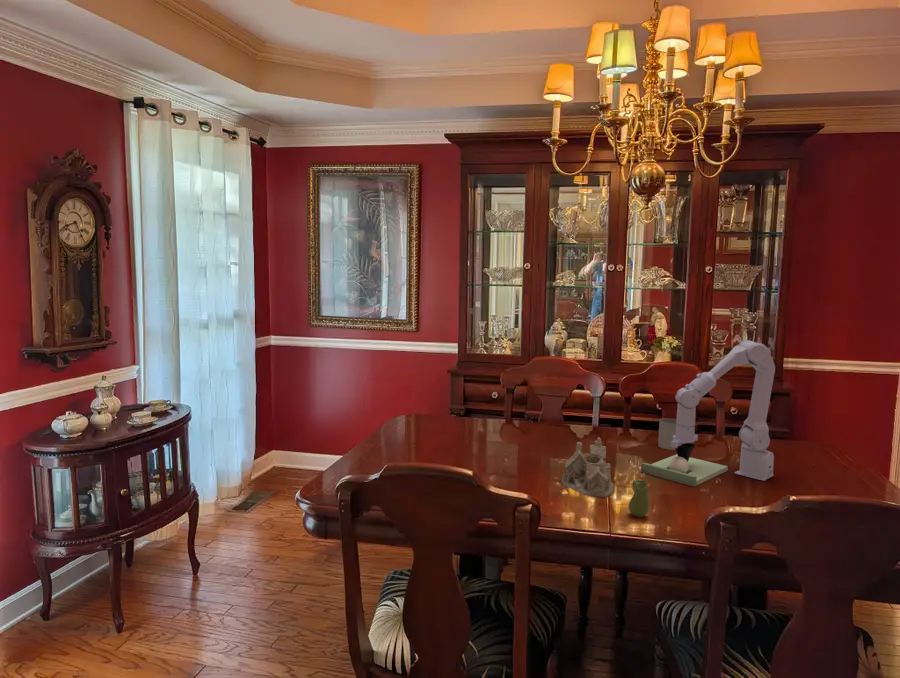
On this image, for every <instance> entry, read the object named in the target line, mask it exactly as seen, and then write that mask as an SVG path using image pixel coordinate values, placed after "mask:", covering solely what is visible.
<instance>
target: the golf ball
mask: <svg viewBox="0 0 900 678" xmlns="http://www.w3.org/2000/svg"><path fill="white" fill-rule="evenodd" d="M669 467H670V469H671V470H674V471H678V472H682V473H686V472H687V471H688V469H689V464H688V462H687V460H686V459H685V458H683V457H680V456H677V457H674V458H672V459H671V461H670V463H669Z"/></svg>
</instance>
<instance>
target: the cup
mask: <svg viewBox="0 0 900 678" xmlns="http://www.w3.org/2000/svg"><path fill="white" fill-rule="evenodd" d="M676 420H677V418H671V417H670V418H667V417H665V418H660V419H659V427H658V441H657V443H658V444H657V446H658V447H659V448H661V449H664V450H669V451H670V450H672V451H676V449H675V448H673V447H671V441H673V439H674V438H672V436H673V435H676Z"/></svg>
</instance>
